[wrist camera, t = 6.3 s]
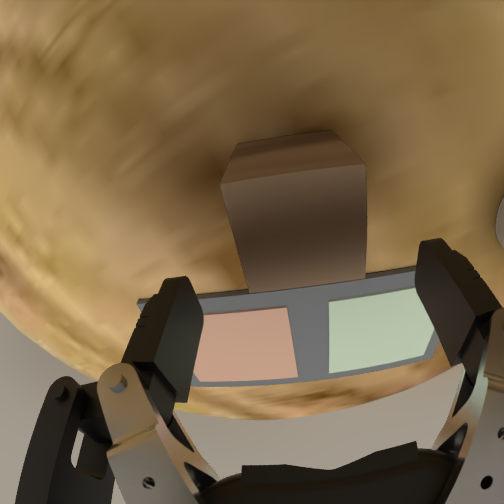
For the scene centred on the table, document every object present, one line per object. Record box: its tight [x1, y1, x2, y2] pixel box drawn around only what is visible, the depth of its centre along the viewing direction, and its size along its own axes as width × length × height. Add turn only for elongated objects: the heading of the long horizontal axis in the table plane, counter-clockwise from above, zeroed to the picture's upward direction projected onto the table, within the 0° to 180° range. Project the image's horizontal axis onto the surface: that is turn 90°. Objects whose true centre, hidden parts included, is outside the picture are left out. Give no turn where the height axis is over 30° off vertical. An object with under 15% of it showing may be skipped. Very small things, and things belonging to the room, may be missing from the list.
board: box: [137, 266, 440, 387], centre depth 23 cm, size 13×26×1 cm, turn 101°
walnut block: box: [220, 130, 367, 293], centre depth 13 cm, size 5×5×6 cm
